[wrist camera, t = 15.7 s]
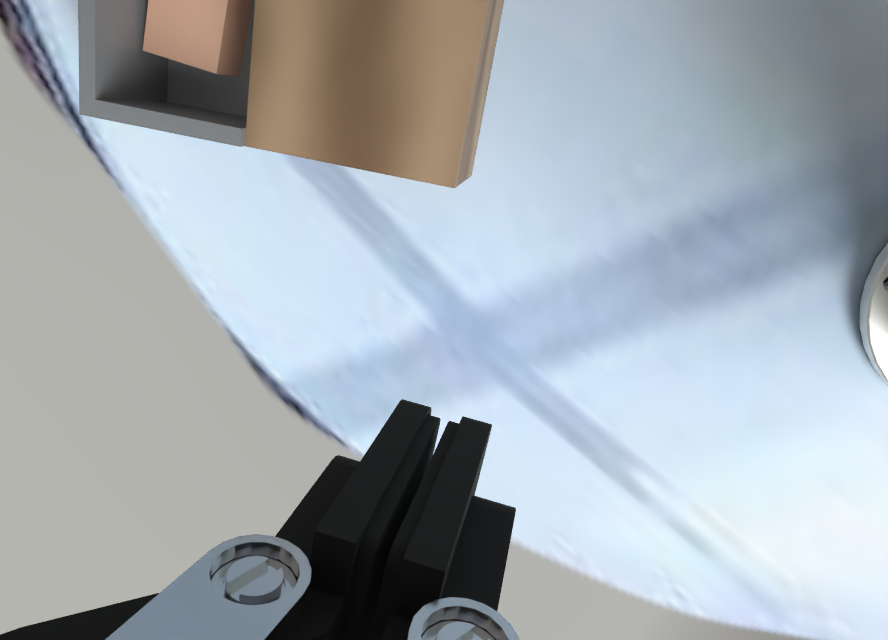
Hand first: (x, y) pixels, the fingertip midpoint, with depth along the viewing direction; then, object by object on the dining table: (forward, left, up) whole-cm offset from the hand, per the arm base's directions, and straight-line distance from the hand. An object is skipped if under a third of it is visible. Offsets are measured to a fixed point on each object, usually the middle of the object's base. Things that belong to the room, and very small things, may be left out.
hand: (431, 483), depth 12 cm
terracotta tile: (+18, -8, -22) cm, 29 cm away
